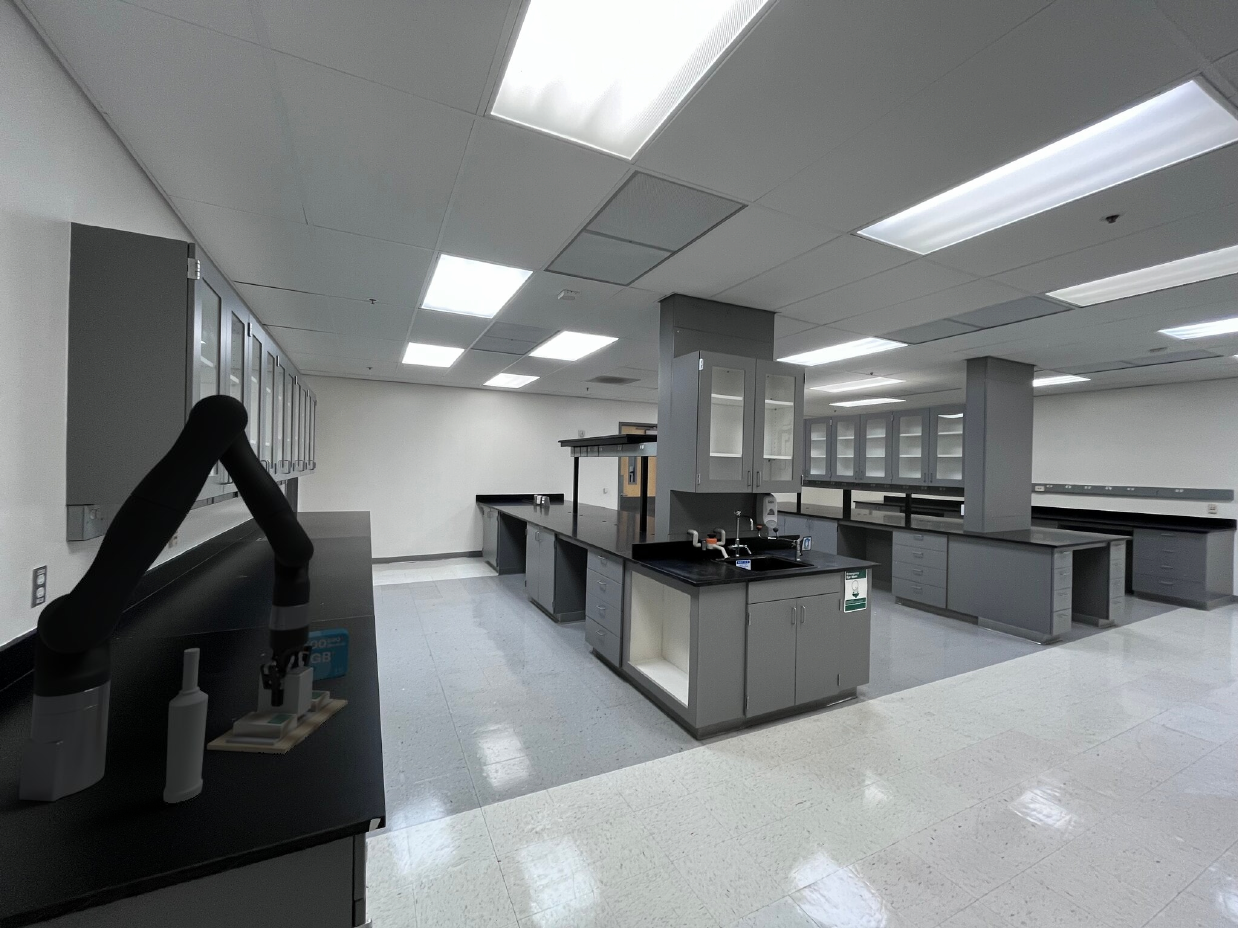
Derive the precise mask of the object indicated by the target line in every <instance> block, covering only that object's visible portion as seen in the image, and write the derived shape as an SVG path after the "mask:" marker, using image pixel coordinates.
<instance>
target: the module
mask: <svg viewBox="0 0 1238 928" xmlns="http://www.w3.org/2000/svg"><path fill="white" fill-rule="evenodd" d="M283 673H284V672H279V671H277V674H283ZM269 683H271V681H269ZM278 683H280V678H278ZM258 684H259V685H258V699H257V712H267V713H284V714H297V717H299V716H300V715H302V714H303V713H304V712H306V711H307V710H309V709H310V708H311V699H312V691H313V668H310V667H306V666H300V667H297V666H296V667H295V668H291V670H290V672H289V673H288V675H287V677H286V678H285V685H284V697H283V705H281V706H280V707H274V706H272V705H271V690H265V689H264V688H263V682H262V676H261V672H260V673H259V682H258Z"/></svg>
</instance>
